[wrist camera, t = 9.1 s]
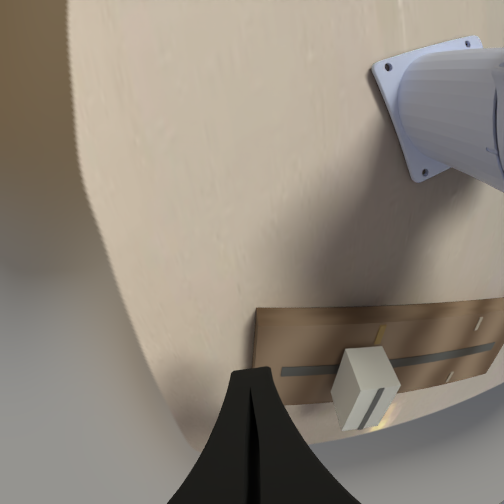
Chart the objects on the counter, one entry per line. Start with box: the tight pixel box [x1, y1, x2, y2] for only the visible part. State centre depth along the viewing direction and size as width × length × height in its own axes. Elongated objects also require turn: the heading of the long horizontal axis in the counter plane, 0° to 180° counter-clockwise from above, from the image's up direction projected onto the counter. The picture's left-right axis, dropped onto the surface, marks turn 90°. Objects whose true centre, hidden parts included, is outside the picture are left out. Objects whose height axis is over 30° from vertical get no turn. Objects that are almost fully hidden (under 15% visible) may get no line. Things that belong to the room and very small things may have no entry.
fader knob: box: [331, 346, 401, 431], centre depth 21 cm, size 3×5×4 cm, turn 177°
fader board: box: [252, 297, 504, 405], centre depth 24 cm, size 26×9×2 cm, turn 87°
